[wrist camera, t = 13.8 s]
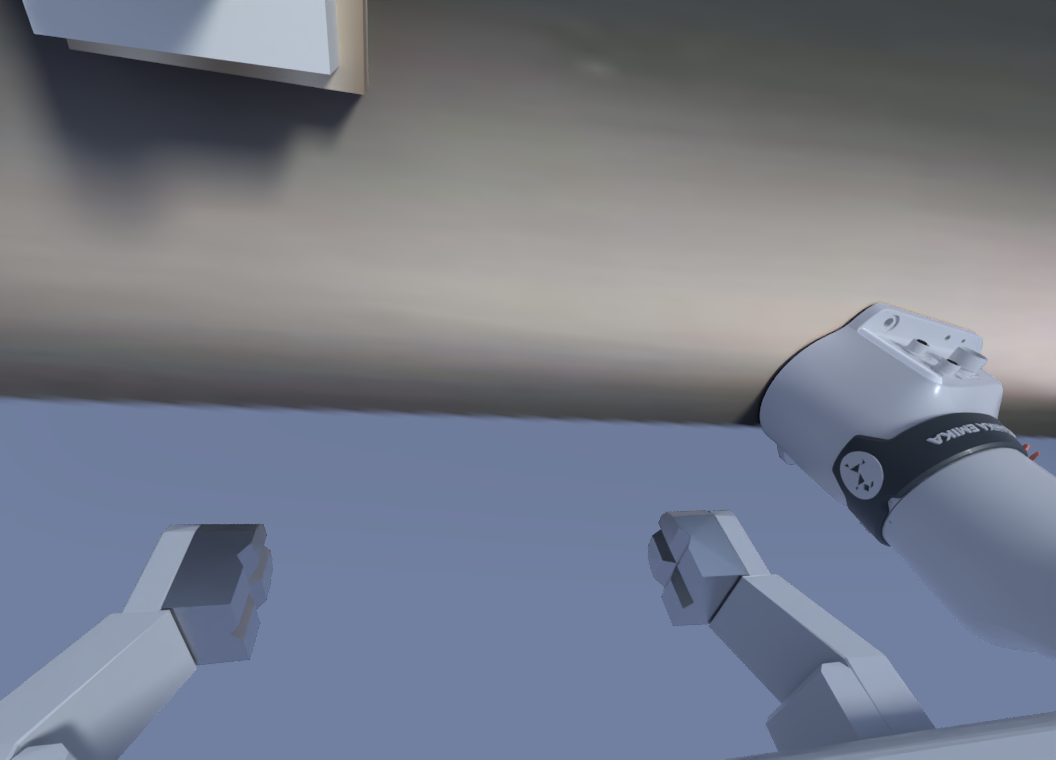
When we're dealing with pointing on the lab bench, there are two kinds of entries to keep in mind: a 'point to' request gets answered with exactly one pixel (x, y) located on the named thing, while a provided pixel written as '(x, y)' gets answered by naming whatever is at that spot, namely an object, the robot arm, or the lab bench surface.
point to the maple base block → (344, 78)
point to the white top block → (203, 28)
